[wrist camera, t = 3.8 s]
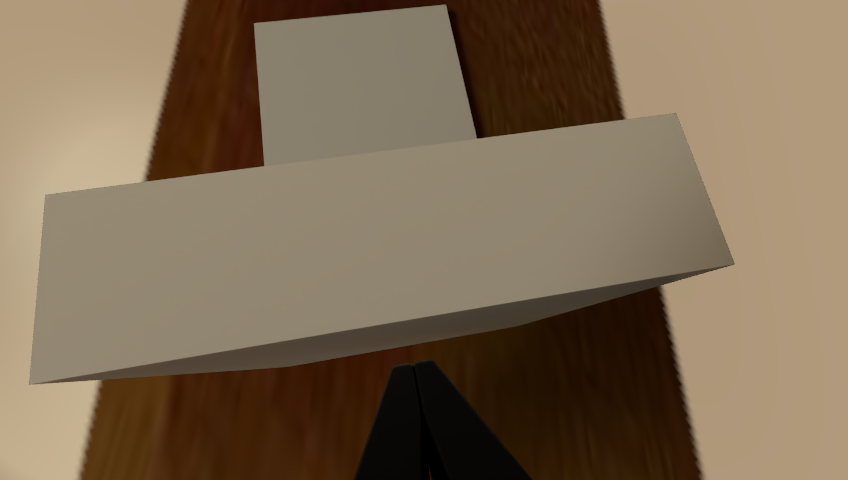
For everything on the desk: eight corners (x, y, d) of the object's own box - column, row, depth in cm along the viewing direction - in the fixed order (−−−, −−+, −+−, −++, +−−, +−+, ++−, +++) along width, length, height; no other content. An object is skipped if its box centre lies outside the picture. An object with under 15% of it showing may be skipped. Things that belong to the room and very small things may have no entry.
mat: (487, 201, 18) (490, 196, 17) (273, 232, 17) (269, 228, 16) (444, 14, 20) (446, 4, 20) (258, 33, 19) (254, 23, 19)
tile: (517, 326, 16) (735, 264, 6) (286, 366, 15) (29, 384, 5) (503, 263, 17) (672, 104, 6) (281, 299, 16) (46, 184, 5)
